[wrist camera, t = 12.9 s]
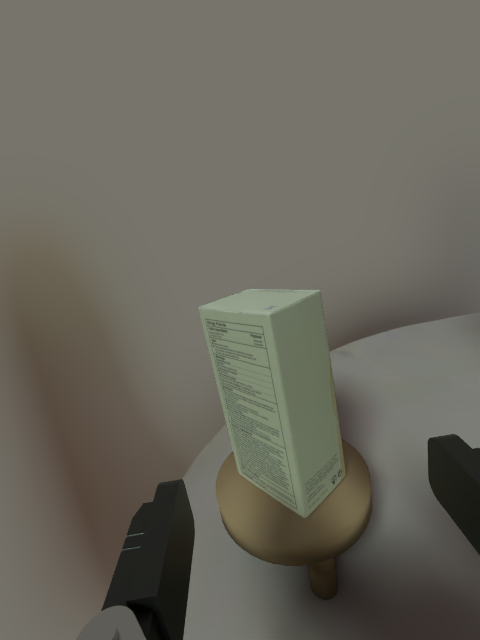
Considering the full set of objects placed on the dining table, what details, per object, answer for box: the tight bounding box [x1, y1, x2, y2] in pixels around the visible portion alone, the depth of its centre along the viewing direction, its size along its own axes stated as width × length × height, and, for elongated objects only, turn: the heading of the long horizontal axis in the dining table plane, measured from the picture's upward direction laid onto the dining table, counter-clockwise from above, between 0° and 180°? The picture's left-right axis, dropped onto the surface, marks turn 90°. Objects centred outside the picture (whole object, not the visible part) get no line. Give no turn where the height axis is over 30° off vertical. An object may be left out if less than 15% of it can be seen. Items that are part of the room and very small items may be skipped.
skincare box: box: [199, 289, 346, 518], centre depth 20 cm, size 6×4×12 cm
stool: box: [216, 439, 372, 599], centre depth 23 cm, size 10×10×6 cm
